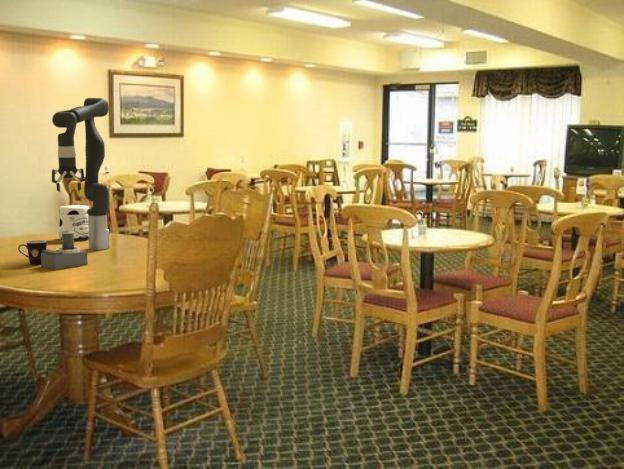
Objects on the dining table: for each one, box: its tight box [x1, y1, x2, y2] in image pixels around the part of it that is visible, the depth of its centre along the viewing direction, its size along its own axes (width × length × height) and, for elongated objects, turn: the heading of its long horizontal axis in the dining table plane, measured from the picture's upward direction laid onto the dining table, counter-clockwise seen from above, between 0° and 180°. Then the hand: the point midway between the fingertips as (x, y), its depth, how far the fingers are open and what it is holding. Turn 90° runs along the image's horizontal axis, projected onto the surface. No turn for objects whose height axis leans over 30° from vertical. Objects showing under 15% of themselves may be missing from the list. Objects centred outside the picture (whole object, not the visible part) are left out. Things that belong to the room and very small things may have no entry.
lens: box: [61, 231, 75, 250], centre depth 316 cm, size 5×5×9 cm
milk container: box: [57, 204, 90, 241], centre depth 389 cm, size 17×17×18 cm
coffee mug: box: [17, 239, 48, 266], centre depth 319 cm, size 12×9×10 cm
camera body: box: [40, 246, 88, 270], centre depth 315 cm, size 16×11×8 cm
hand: (68, 191), depth 329 cm, fingers open, 8 cm apart
